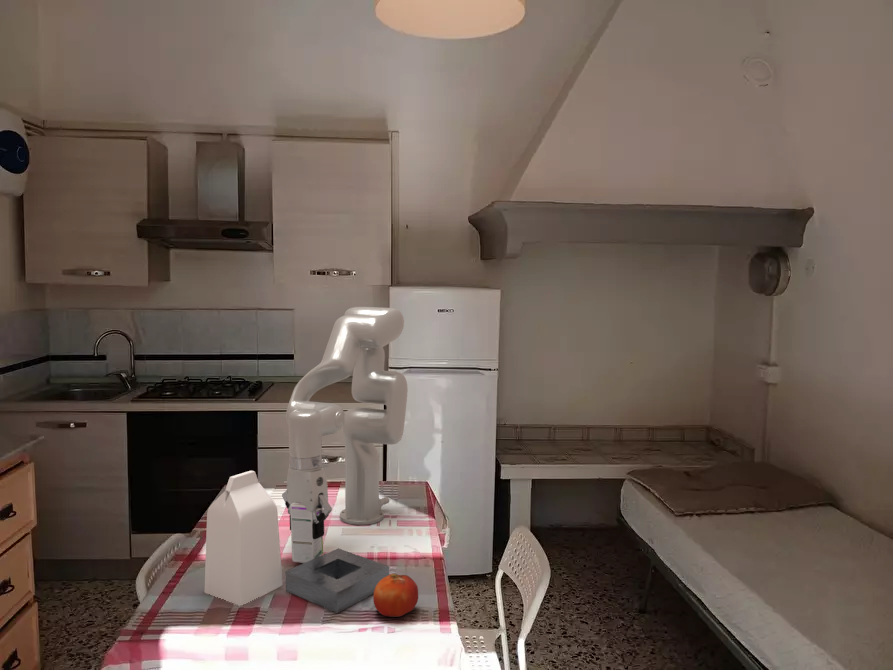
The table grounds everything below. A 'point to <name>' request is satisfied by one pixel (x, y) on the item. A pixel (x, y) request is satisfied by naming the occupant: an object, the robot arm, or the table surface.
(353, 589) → the bore block
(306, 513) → the syrup box
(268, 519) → the milk
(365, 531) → the table surface
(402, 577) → the tomato
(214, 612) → the table surface
